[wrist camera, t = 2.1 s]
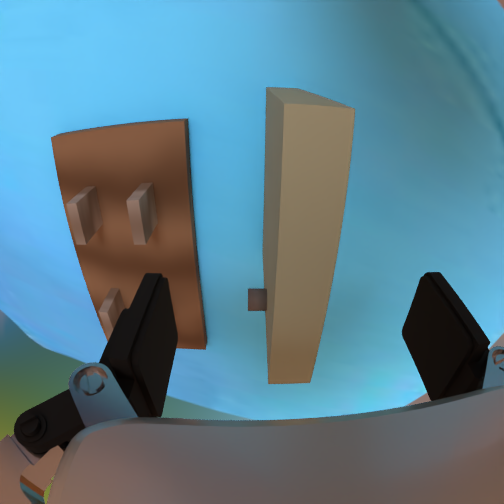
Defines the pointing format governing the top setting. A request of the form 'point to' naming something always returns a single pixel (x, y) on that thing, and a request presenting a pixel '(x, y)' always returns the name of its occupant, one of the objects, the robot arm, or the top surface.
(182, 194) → the hinge base
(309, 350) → the cabinet door
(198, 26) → the top surface
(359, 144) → the top surface
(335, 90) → the top surface
